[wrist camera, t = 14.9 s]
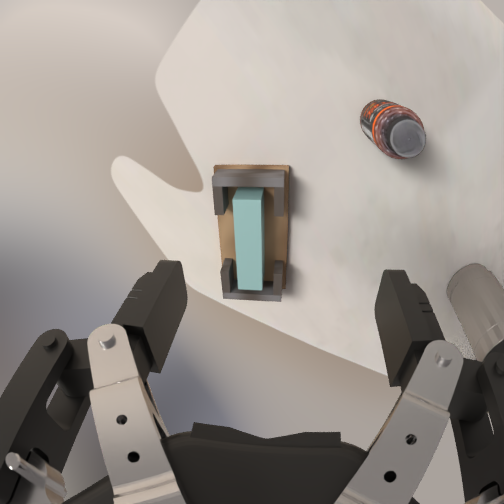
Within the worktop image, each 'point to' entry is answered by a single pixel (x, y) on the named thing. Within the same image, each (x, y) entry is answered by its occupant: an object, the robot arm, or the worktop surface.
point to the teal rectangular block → (249, 237)
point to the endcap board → (274, 226)
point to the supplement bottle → (393, 129)
